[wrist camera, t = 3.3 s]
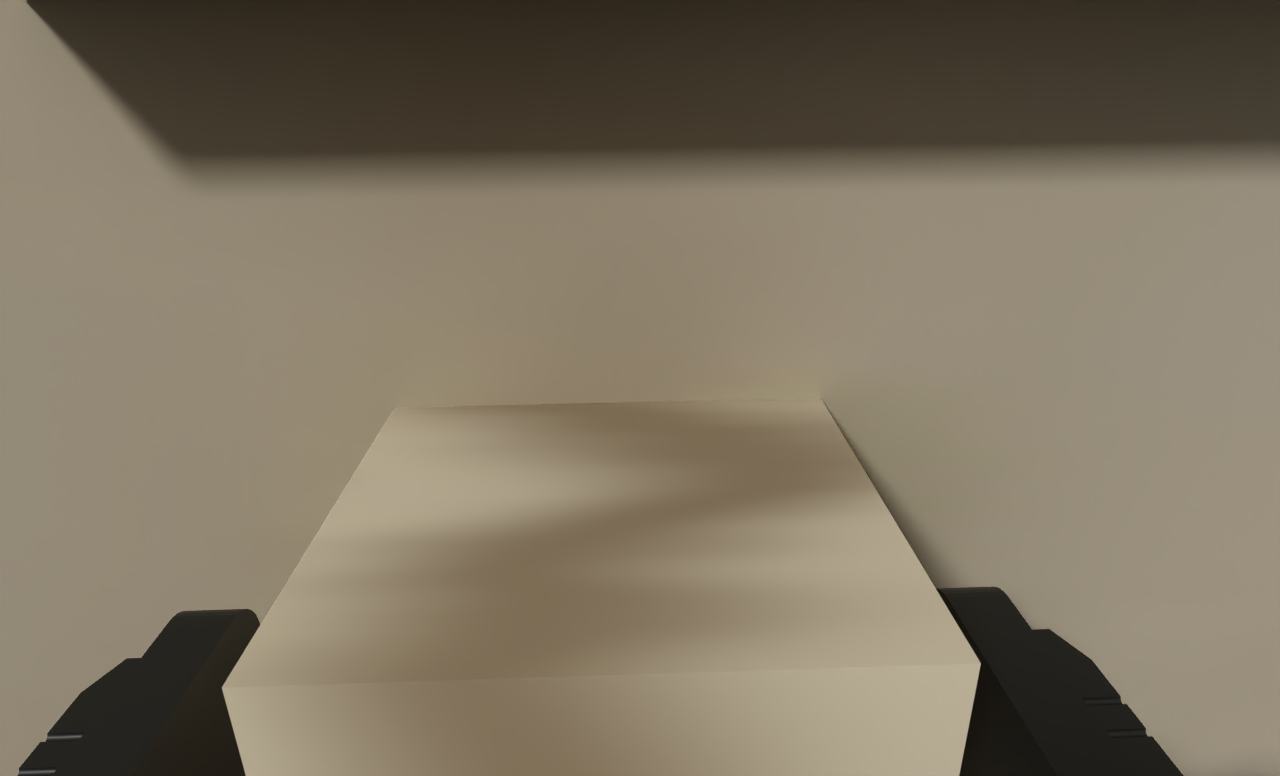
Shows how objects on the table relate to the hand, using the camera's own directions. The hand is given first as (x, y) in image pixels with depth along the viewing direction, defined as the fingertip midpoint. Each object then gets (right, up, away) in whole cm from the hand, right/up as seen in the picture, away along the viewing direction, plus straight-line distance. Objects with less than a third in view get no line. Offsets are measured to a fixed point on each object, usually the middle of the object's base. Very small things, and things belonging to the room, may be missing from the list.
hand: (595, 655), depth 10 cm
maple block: (0, +1, +2) cm, 2 cm away
